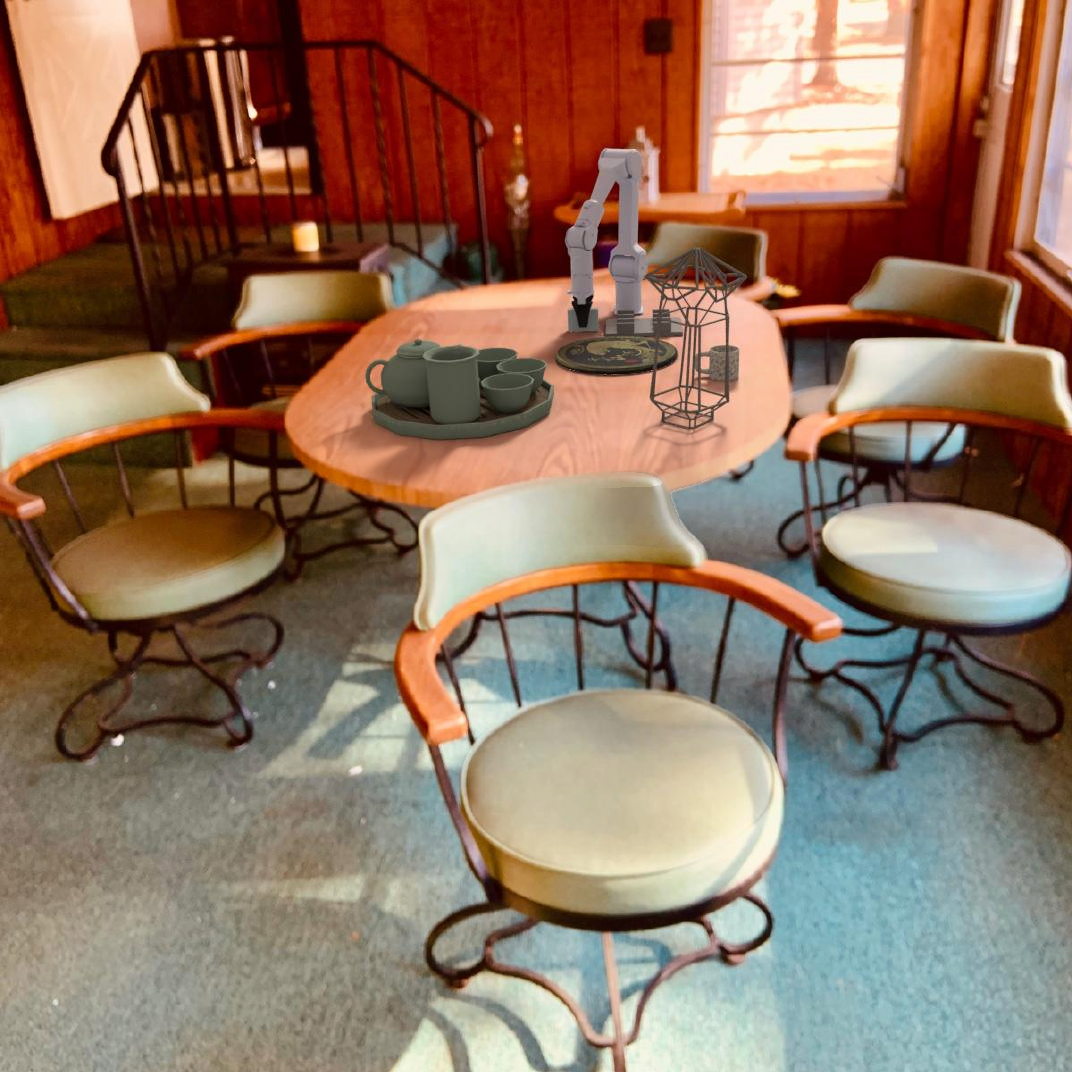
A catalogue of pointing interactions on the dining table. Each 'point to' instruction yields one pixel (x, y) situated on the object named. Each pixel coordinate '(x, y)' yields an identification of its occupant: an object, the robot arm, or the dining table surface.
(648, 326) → the grey slotted organizer
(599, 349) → the decorative plate
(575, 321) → the grey rectangular block
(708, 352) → the mug
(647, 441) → the dining table surface
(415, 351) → the tea set
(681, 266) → the geometric lantern
